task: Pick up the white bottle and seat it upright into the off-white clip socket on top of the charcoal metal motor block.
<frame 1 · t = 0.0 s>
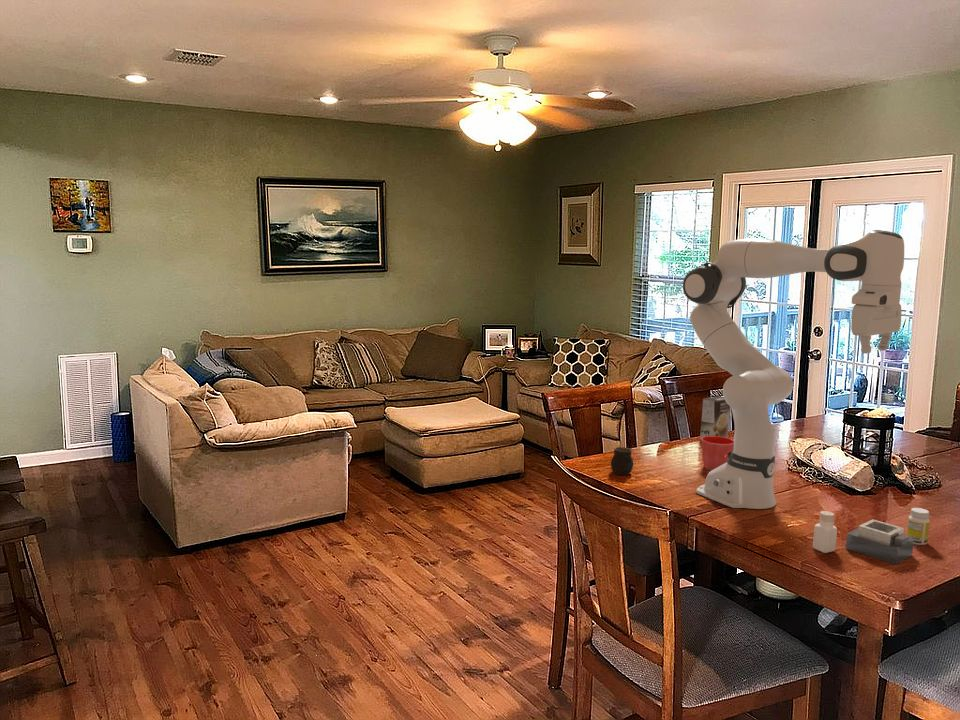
hand: (874, 351, 197), 48 cm above the table, tool pointing down, fingers open, 8 cm apart
flower pot: (716, 468, 260), on the table
motor block: (878, 552, 192), on the table
coffee box: (713, 440, 296), on the table
supplement bottle: (916, 542, 200), on the table
white bottle: (823, 550, 193), on the table
mate gourd: (622, 473, 252), on the table
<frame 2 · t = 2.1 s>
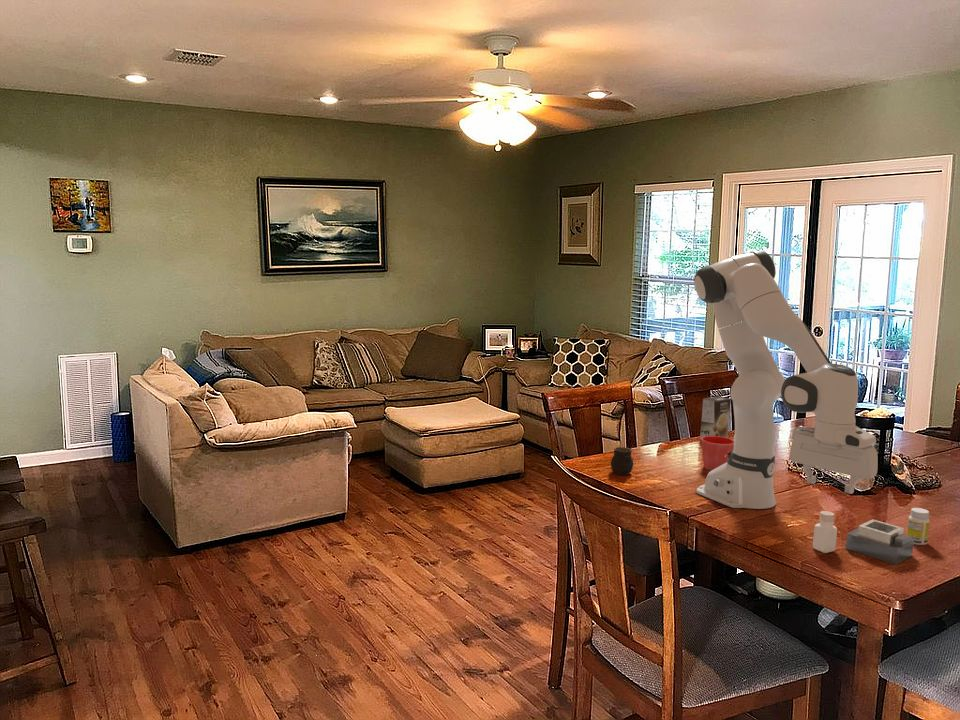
hand: (829, 487, 190), 16 cm above the table, tool pointing down, fingers open, 8 cm apart
nothing on the table moved.
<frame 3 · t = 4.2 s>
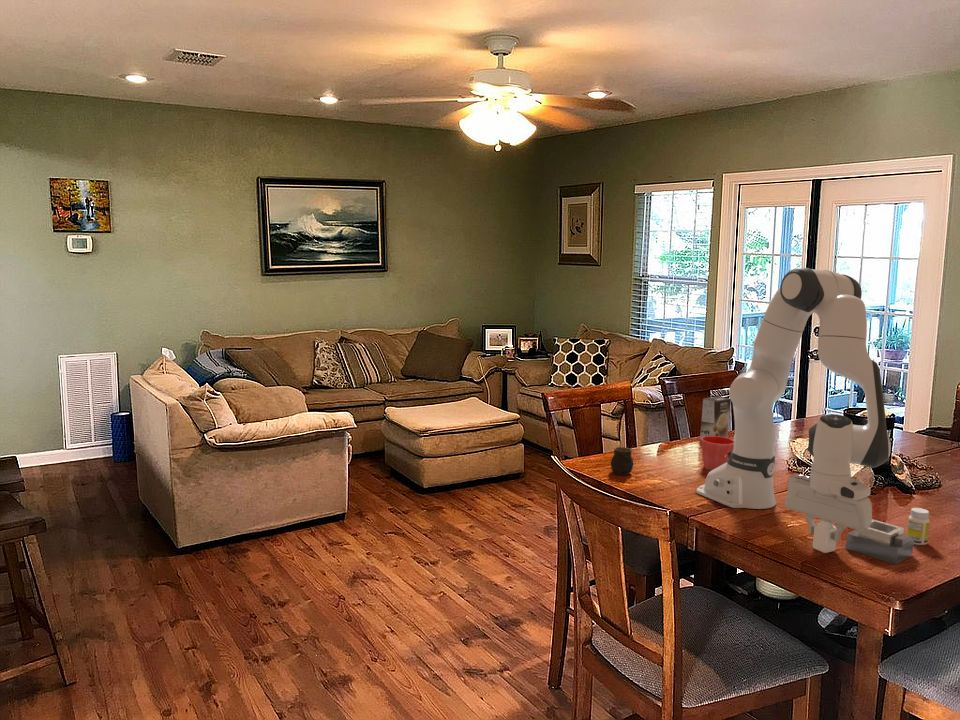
hand: (824, 536, 192), 4 cm above the table, tool pointing down, fingers closed on white bottle, 4 cm apart
white bottle: (823, 550, 193), on the table, touching gripper
everything else where it was.
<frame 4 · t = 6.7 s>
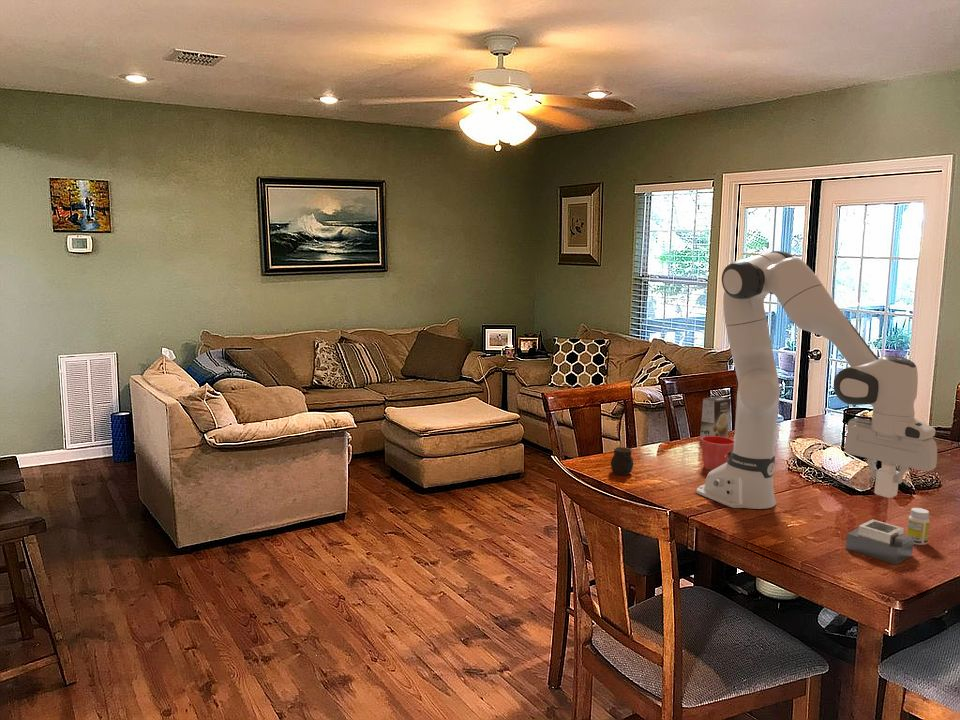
hand: (886, 479, 189), 18 cm above the table, tool pointing down, fingers closed on white bottle, 4 cm apart
white bottle: (885, 495, 190), point 14 cm above the table, touching gripper
everything else where it was.
when the fingers open (9 cm above the table, at t = 9.1 s): white bottle drops 1 cm, resting on motor block.
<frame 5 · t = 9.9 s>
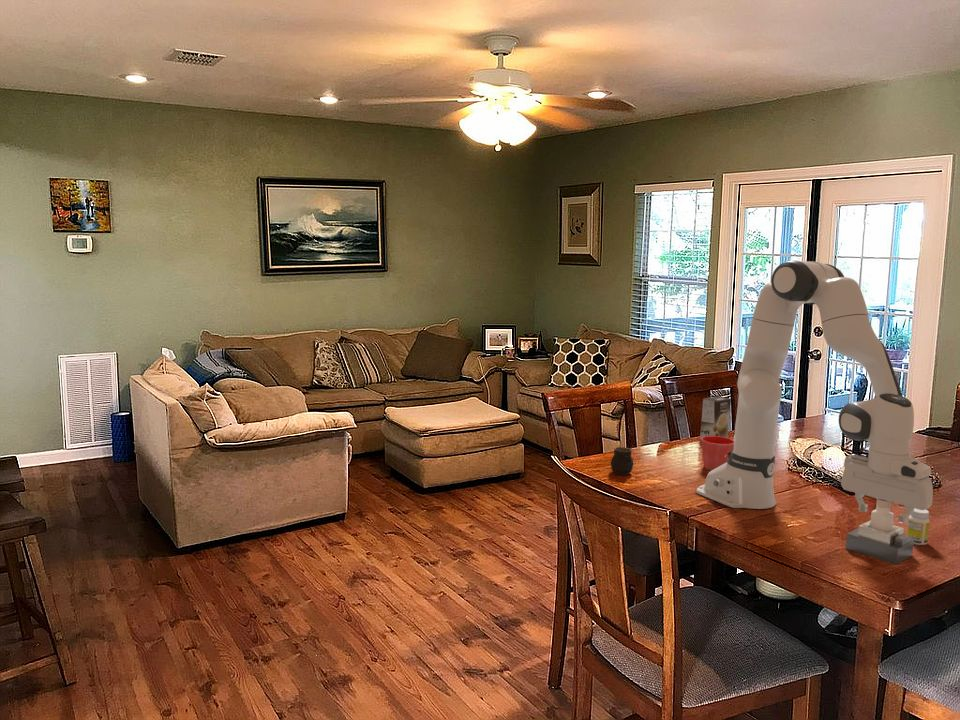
hand: (882, 516, 191), 9 cm above the table, tool pointing down, fingers open, 8 cm apart
white bottle: (880, 537, 192), point 4 cm above the table, touching motor block
everything else where it was.
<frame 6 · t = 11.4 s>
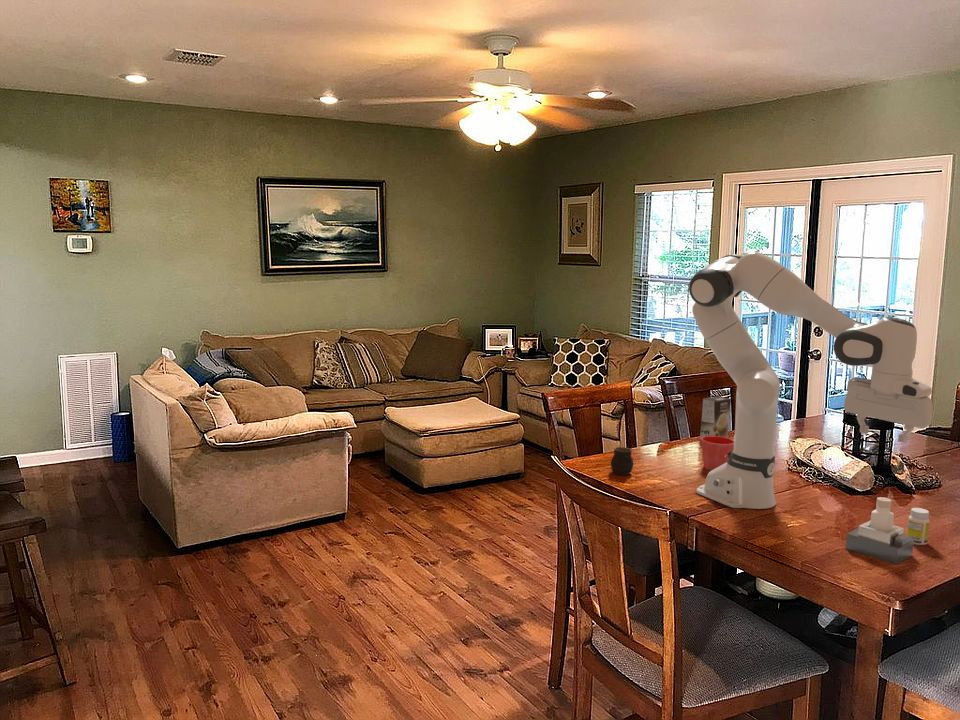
hand: (882, 437, 196), 27 cm above the table, tool pointing down, fingers open, 8 cm apart
nothing on the table moved.
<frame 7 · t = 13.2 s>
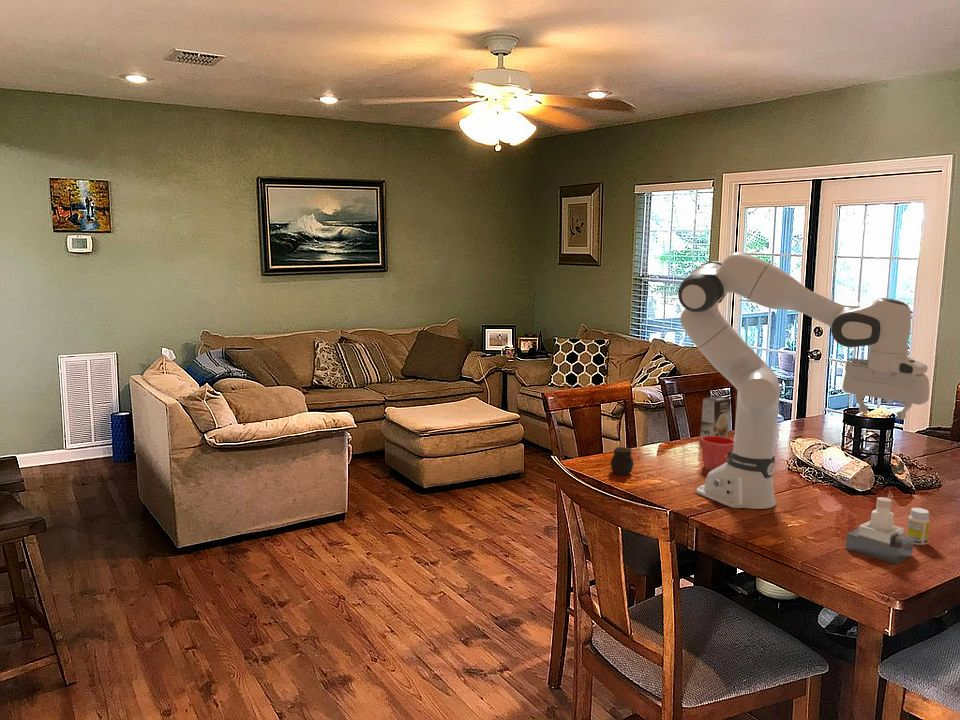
hand: (881, 415, 201), 31 cm above the table, tool pointing down, fingers open, 8 cm apart
nothing on the table moved.
at the end: white bottle 0.2 cm off-centre on the motor block, point 3.8 cm above the motor block's base; white bottle tilted 0°; the gripper is holding nothing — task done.
